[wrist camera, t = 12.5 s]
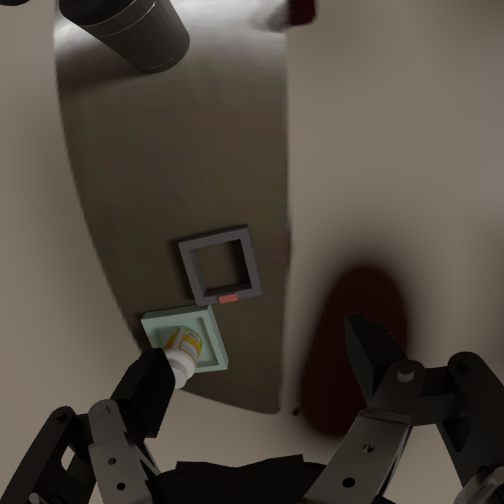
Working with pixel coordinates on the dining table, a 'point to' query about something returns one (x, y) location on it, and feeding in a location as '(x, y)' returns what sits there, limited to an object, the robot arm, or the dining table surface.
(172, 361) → the supplement bottle
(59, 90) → the dining table surface
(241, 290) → the socket collar
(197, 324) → the tray
